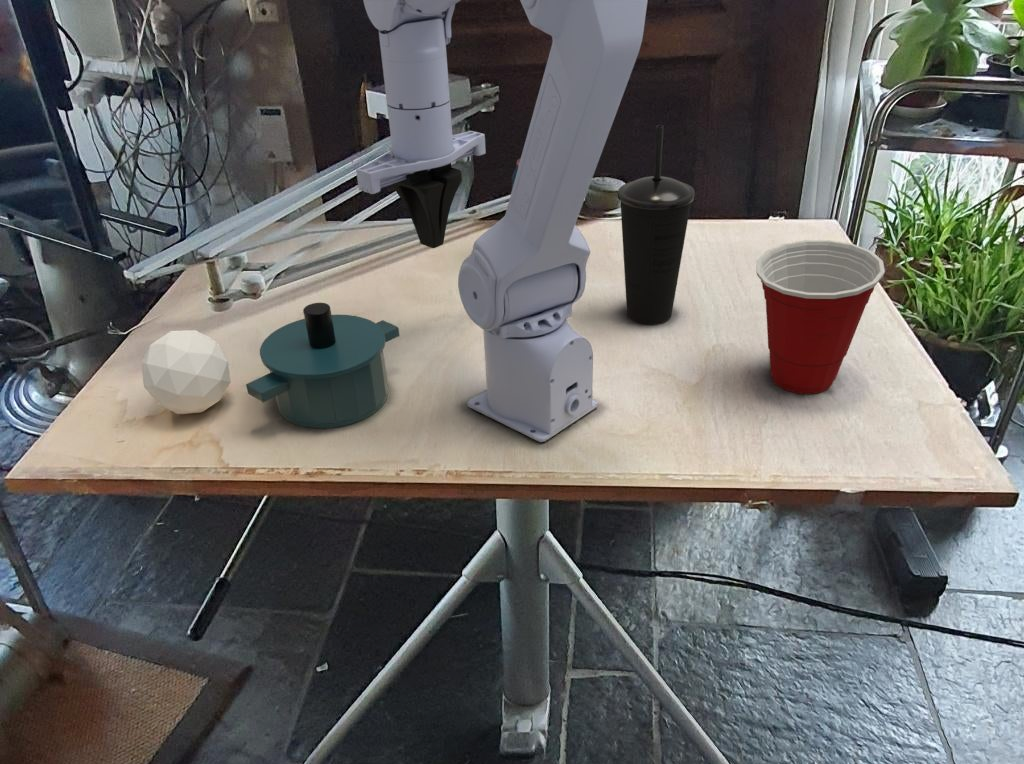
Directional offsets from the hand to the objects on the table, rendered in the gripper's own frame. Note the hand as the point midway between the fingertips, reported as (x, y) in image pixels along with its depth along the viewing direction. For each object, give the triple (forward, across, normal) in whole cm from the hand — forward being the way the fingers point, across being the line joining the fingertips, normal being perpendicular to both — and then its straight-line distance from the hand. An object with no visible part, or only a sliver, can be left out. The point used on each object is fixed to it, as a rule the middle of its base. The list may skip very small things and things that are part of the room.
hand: (431, 244), depth 88 cm
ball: (+11, +24, -8) cm, 28 cm away
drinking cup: (+11, -18, +14) cm, 25 cm away
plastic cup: (+11, -16, +33) cm, 38 cm away
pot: (+10, +15, +1) cm, 18 cm away
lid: (+5, +15, +1) cm, 16 cm away
